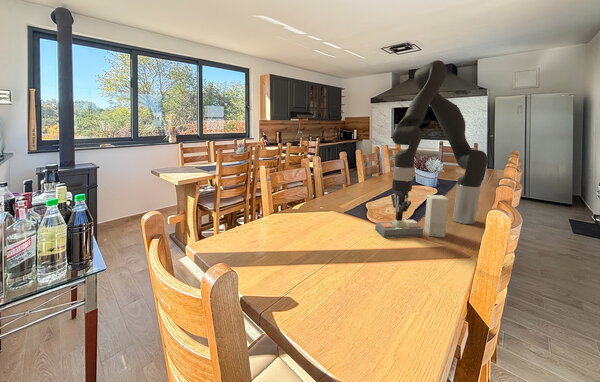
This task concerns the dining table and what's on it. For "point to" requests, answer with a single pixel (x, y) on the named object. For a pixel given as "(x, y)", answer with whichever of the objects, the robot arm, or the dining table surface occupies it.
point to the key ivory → (411, 223)
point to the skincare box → (436, 215)
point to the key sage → (398, 223)
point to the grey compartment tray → (398, 231)
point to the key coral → (386, 225)
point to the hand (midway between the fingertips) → (398, 220)
